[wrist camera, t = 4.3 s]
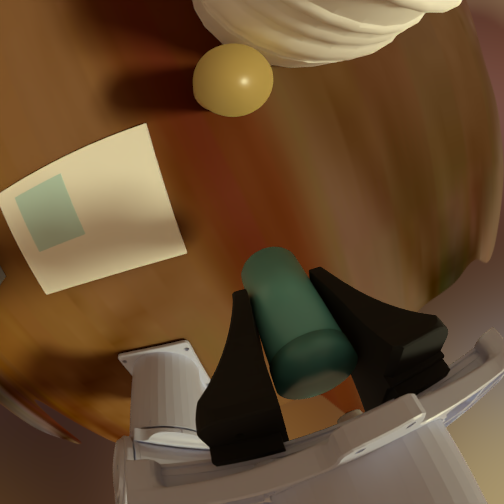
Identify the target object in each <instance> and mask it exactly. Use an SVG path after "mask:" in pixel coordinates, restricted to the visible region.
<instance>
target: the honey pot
mask: <svg viewBox="0 0 504 504" xmlns="http://www.w3.org/2000/svg"><path fill="white" fill-rule="evenodd" d="M461 1H462V0H192V2H193V6H194V10H195V11H196V13H197V15H198V16H199V18H200V20H201V21H202V23H203V25H204V27H205V28H206V29H207V30H208V31H210V32H211V33H212V34H213V35H214V36H215V37H216V38H217V39H218V40H219V41H220V42H221V43H222V44H231V43H237V44H243V45H247V46H249V47H252V48H254V49H255V50H257V51H258V52H260V53H261V54H262V55H263V56H264V57H265V58H266V60H267V61H268V63H269V64H270V65H275V66H282V67H288V68H296V67H312V66H318V65H323V64H328V63H333V62H337V61H343V60H350V59H354V58H357V57H361V56H365V55H369V54H372V53H374V52H376V51H377V50H379V49H380V48H382V47H384V46H385V45H387V44H388V43H390V42H392V41H393V39H394V38H395V37H396V35H398V34H399V33H401V32H403V31H405V30H406V29H407V28H409V27H411V26H413V25H415V24H416V23H418V22H419V21H420V20H421V18H422V17H423V15H424V14H425V13H444V12H447V11H449V10H451V9H453V8H455V7H457V6H459V5H460V3H461Z"/></svg>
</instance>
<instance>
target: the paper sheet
mask: <svg viewBox="0 0 504 504" xmlns="http://www.w3.org/2000/svg"><path fill="white" fill-rule="evenodd" d="M0 207H1V210H2V212H3V215H4V217H5V219H6V221H7V224H8V226H9V228H10V230H11V232H12V234H13V236H14V238H15V240H16V242H17V244H18V246H19V248H20V250H21V252H22V254H23V256H24V258H25V260H26V261H27V263H28V265H29V267H30V269H31V270H32V272H33V274H34V275H35V277H36V279H37V280H38V282H39V284H40V285H41V287H42V289H43V290H44V292H45V293H46V295H47V294H51V293H54V292H57V291H60V290H64V289H67V288H70V287H73V286H77V285H80V284H83V283H87V282H90V281H93V280H97V279H100V278H103V277H107V276H110V275H113V274H117V273H120V272H124V271H127V270H130V269H134V268H137V267H141V266H144V265H148V264H151V263H155V262H158V261H162V260H165V259H169V258H172V257H176V256H179V255H183V254H186V253H187V250H186V248H185V245H184V242H183V239H182V236H181V233H180V230H179V228H178V225H177V222H176V219H175V216H174V213H173V210H172V207H171V204H170V201H169V198H168V195H167V191H166V188H165V185H164V182H163V179H162V175H161V172H160V169H159V166H158V162H157V159H156V155H155V152H154V149H153V145H152V142H151V138H150V135H149V131H148V127H147V124H146V123H145V124H142V125H139V126H136V127H133V128H130V129H128V130H125V131H122V132H120V133H117V134H114V135H112V136H109V137H107V138H104V139H102V140H100V141H97V142H95V143H93V144H90V145H88V146H86V147H84V148H81V149H79V150H77V151H75V152H73V153H71V154H68V155H66V156H64V157H62V158H60V159H58V160H56V161H54V162H52V163H50V164H49V165H47V166H45V167H43V168H41V169H39V170H37V171H36V172H34V173H32V174H30V175H29V176H27V177H25V178H23V179H22V180H20V181H18V182H17V183H15V184H13V185H12V186H10V187H9V188H7V189H5V190H4V191H2V192H1V193H0Z"/></svg>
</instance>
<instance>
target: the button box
mask: <svg viewBox="0 0 504 504" xmlns="http://www.w3.org/2000/svg"><path fill="white" fill-rule="evenodd" d="M5 277H6V275H5V274H4V272H3V270H2V269H1V267H0V284H1V283H2V281H3V280H4V278H5Z"/></svg>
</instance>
